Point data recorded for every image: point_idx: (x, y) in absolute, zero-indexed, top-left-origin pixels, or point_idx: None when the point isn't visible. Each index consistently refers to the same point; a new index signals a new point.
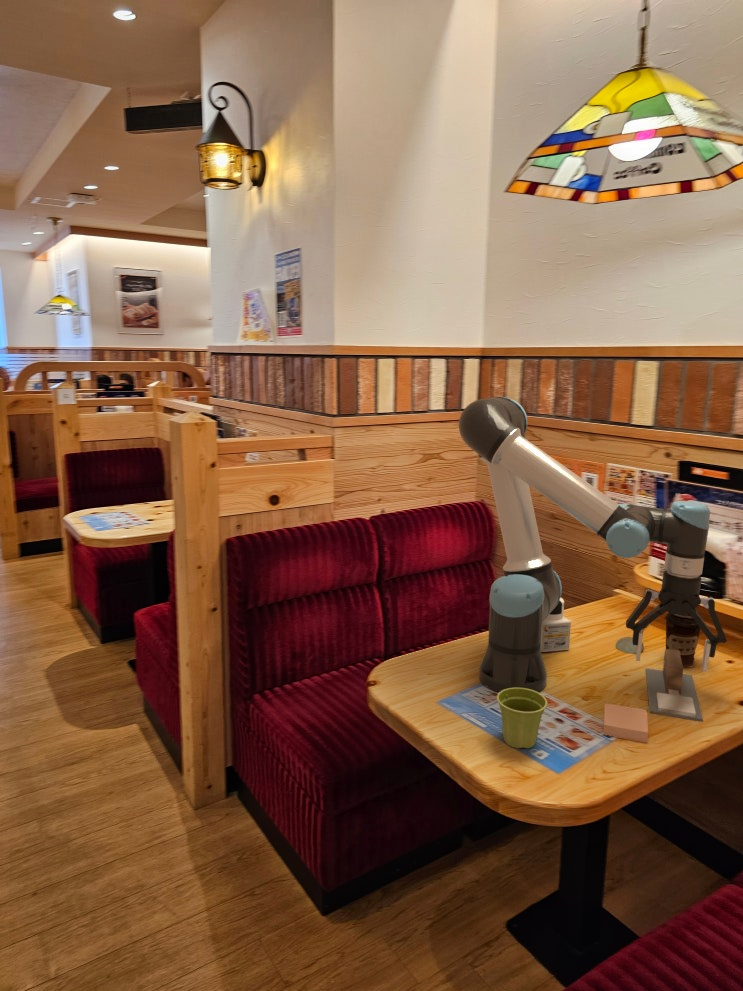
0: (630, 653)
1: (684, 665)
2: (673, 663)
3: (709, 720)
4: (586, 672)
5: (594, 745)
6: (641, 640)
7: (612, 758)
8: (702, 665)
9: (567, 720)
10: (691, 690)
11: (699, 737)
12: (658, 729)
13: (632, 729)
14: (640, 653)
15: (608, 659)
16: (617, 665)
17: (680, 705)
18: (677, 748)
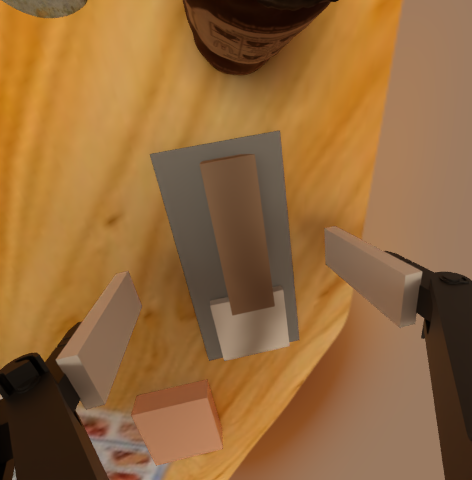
0: (57, 15)
1: (256, 68)
2: (244, 286)
3: (308, 326)
4: (15, 259)
5: (158, 467)
6: (114, 372)
7: (188, 475)
8: (330, 246)
9: (94, 442)
10: (279, 234)
11: (291, 380)
12: (231, 393)
13: (199, 454)
14: (134, 326)
15: (18, 127)
16: (65, 163)
17: (261, 332)
18: (262, 419)
